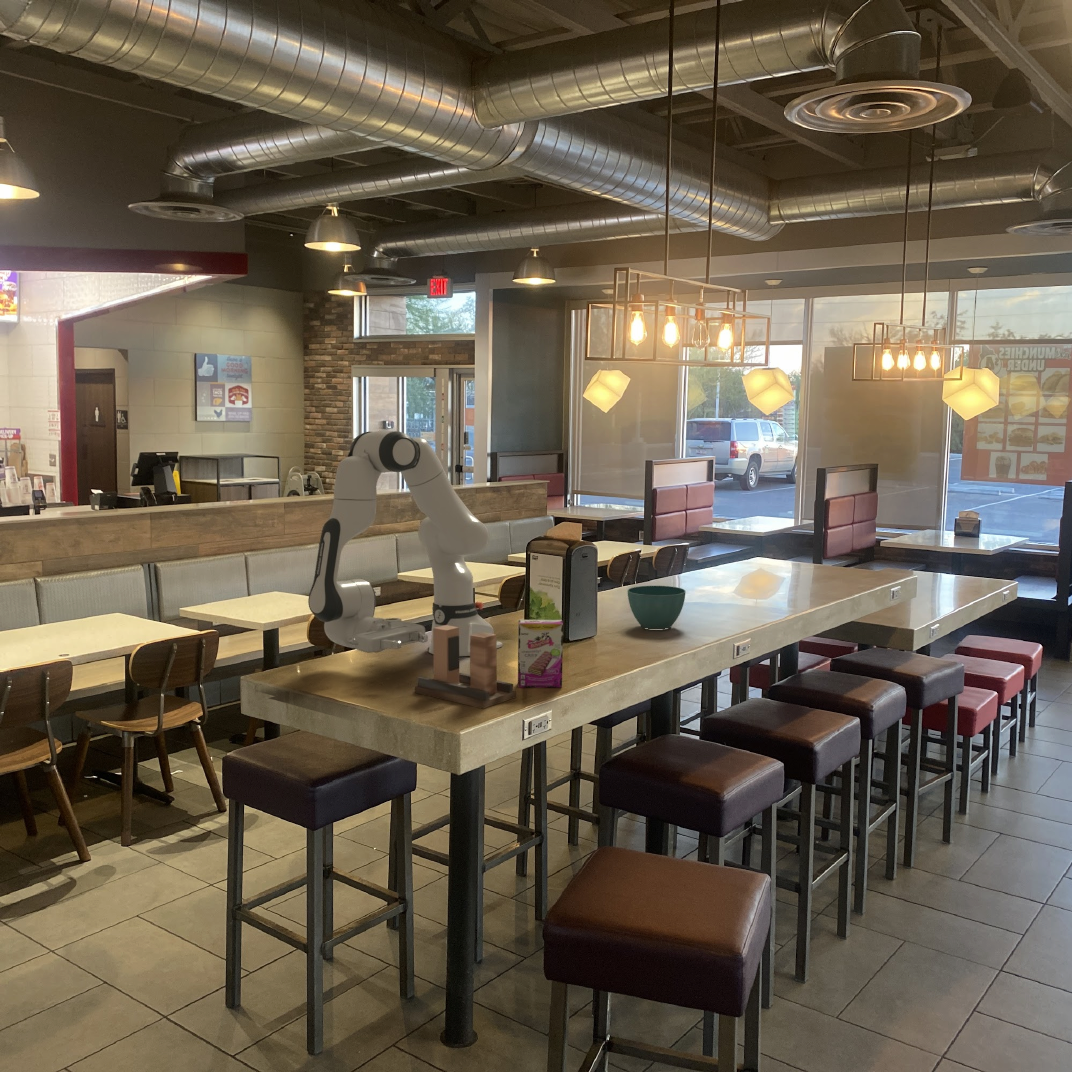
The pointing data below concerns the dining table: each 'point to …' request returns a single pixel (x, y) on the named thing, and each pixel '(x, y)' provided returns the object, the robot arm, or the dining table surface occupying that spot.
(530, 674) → the candy bar box
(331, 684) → the dining table surface
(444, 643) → the tall tan pillar
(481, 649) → the wooden stand
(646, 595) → the dark green round bowl
